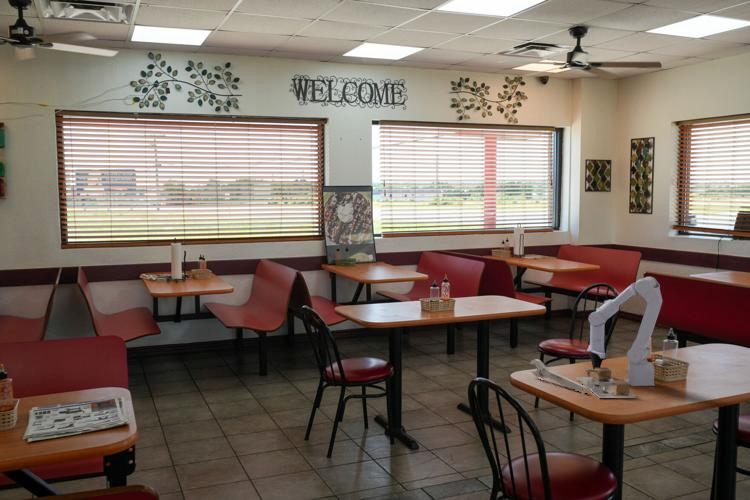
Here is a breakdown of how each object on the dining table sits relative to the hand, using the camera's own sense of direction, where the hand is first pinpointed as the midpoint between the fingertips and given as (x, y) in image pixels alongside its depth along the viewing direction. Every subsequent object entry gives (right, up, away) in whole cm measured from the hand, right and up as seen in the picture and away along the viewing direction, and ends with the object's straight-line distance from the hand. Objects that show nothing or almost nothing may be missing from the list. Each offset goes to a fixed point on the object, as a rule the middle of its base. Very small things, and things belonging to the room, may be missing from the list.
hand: (596, 370), depth 287 cm
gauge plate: (-2, -4, -17) cm, 18 cm away
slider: (-2, -2, -7) cm, 8 cm away
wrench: (-20, -4, -12) cm, 24 cm away
